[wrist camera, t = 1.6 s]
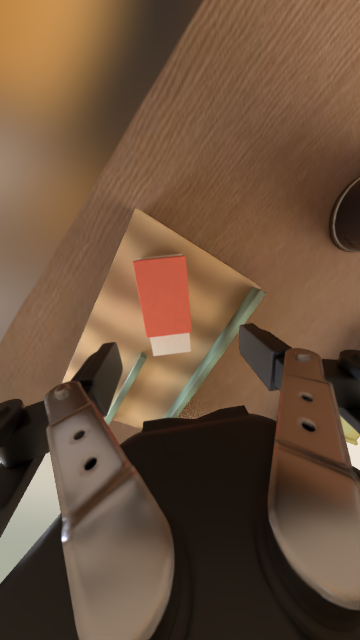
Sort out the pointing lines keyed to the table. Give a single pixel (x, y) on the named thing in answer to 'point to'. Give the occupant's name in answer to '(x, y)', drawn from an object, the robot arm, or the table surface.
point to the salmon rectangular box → (165, 302)
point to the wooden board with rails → (136, 349)
